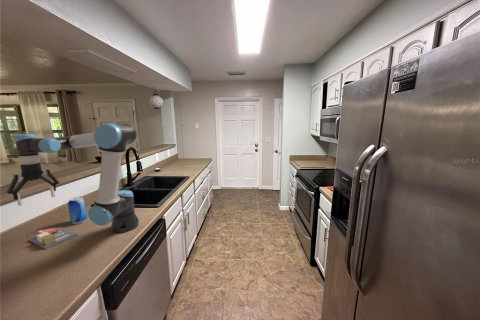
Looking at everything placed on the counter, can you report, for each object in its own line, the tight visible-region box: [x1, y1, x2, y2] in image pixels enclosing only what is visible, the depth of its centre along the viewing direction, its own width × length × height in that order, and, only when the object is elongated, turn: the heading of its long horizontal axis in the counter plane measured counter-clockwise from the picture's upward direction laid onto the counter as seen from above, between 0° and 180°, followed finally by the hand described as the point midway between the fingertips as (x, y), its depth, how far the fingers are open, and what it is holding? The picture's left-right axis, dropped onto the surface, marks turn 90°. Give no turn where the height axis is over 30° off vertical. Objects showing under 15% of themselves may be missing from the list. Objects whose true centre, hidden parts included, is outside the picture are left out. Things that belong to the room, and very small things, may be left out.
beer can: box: [67, 196, 88, 225], centre depth 128 cm, size 8×8×16 cm
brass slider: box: [41, 234, 56, 246], centre depth 105 cm, size 4×4×4 cm
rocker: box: [36, 227, 59, 235], centre depth 112 cm, size 5×8×1 cm, turn 155°
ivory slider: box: [36, 232, 50, 243], centre depth 107 cm, size 4×4×4 cm
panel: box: [28, 226, 78, 250], centre depth 111 cm, size 18×14×2 cm
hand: (37, 200), depth 109 cm, fingers open, 13 cm apart
